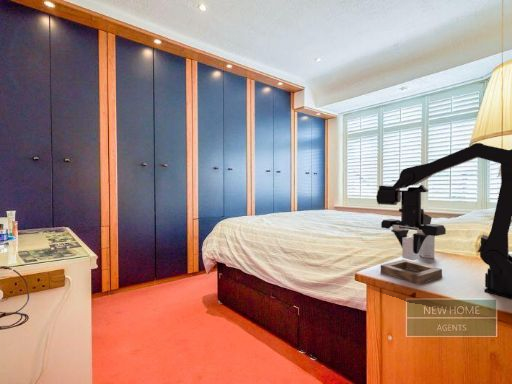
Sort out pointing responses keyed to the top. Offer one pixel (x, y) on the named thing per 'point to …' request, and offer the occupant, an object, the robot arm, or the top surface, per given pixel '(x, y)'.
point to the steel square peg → (408, 248)
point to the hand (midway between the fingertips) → (410, 252)
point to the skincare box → (428, 247)
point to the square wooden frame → (423, 276)
